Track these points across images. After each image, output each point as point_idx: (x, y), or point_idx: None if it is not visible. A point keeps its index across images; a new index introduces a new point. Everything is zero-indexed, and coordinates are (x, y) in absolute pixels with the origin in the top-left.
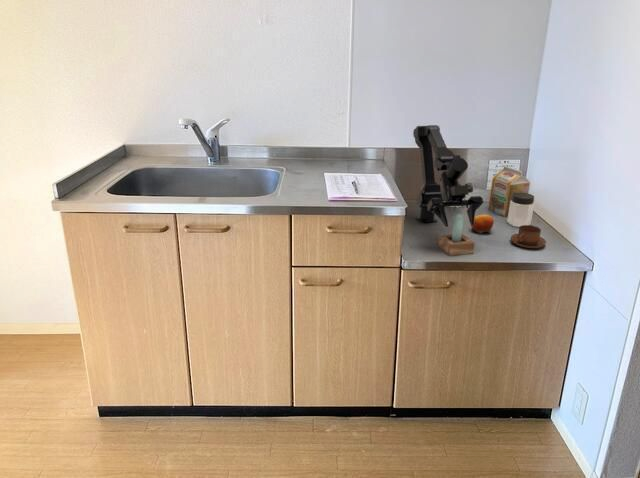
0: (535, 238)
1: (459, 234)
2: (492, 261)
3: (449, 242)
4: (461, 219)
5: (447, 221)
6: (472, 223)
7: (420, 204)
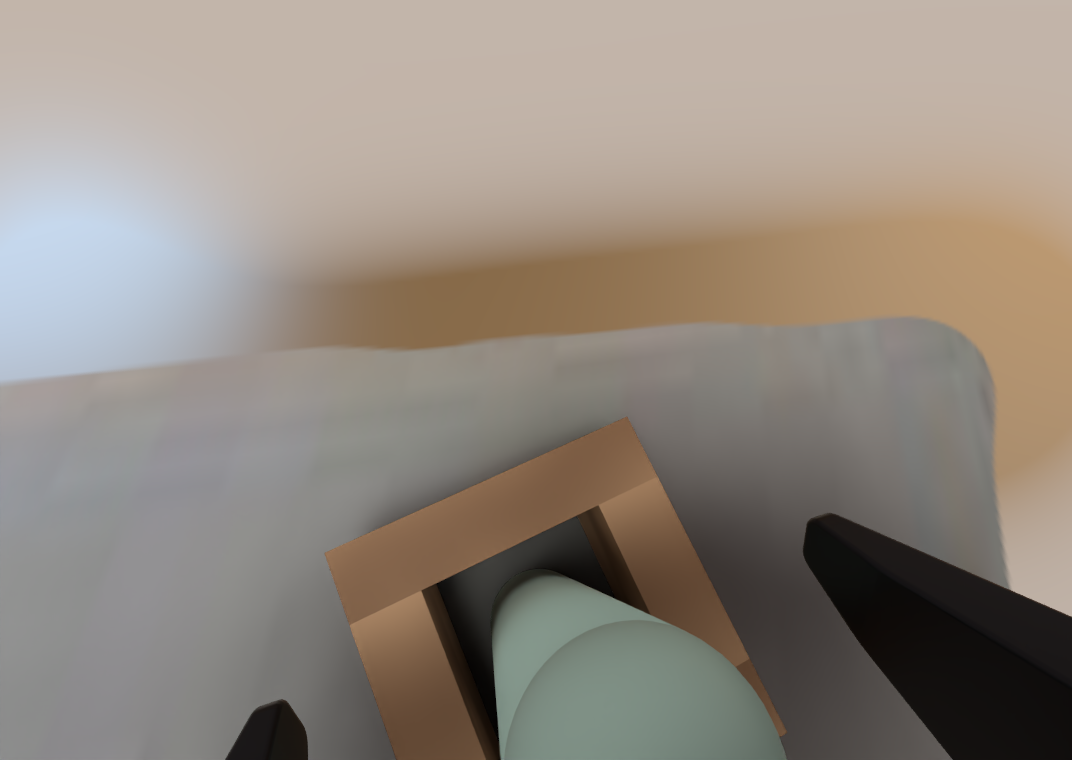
0: None
1: (537, 589)
2: (214, 367)
3: (648, 497)
4: (574, 635)
5: (879, 568)
6: (272, 715)
7: None
